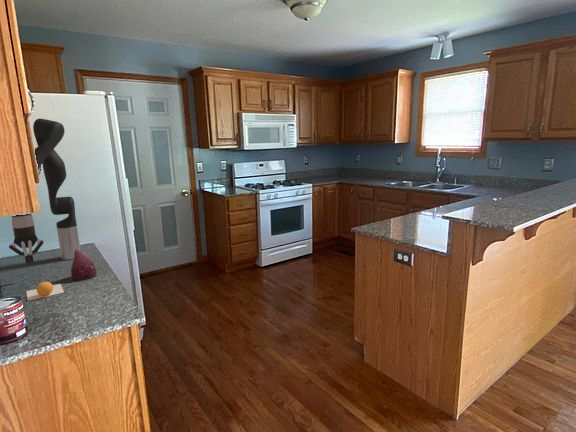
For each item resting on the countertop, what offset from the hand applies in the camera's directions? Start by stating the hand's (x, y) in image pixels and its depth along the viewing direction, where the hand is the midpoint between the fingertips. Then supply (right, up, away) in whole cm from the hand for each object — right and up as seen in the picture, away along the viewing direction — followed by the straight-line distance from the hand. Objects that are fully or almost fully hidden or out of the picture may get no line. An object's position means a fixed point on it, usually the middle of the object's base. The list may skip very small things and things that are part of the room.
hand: (29, 263), depth 156 cm
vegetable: (+22, -7, +4) cm, 24 cm away
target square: (+16, -10, -13) cm, 23 cm away
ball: (+19, -8, -17) cm, 26 cm away
